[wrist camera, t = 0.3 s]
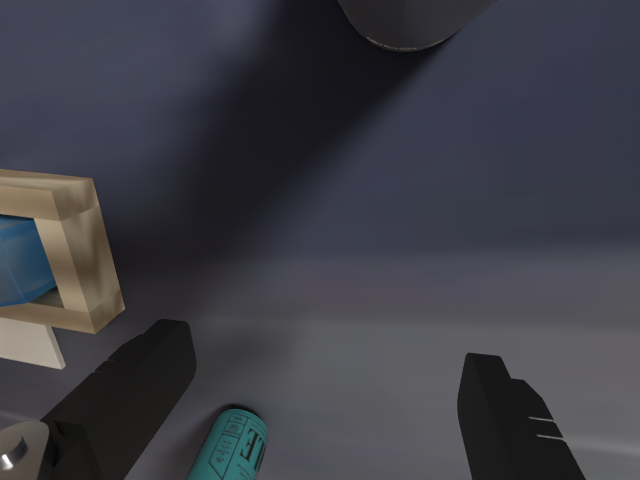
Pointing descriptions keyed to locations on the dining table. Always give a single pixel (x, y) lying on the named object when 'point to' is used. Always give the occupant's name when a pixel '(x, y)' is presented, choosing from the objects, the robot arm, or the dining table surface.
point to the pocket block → (65, 250)
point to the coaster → (29, 343)
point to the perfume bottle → (22, 262)
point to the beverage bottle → (231, 448)
